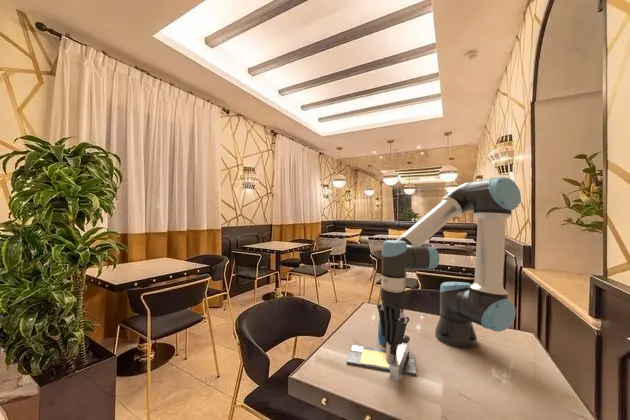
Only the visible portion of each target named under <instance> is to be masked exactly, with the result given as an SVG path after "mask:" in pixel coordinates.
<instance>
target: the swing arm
mask: <svg viewBox="0 0 630 420" xmlns="http://www.w3.org/2000/svg"><path fill="white" fill-rule="evenodd" d="M410 340H411V339H410V336H409V335H405V334H404V338H403V342H402V344H399V345H397V353H396V354H395V355H394V357H393V359H392V362H391V364H390V371H389V379H390V380H393V381H396V382H399V381H400V378H401V375H402V374H401V372H402V369H403V367H404V364H405V361H406V358H407V355H408V351H409V343H410Z"/></svg>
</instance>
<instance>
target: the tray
mask: <svg viewBox="0 0 630 420" xmlns="http://www.w3.org/2000/svg"><path fill="white" fill-rule="evenodd" d="M346 365H351V366H356V367H362V368H368V369H374V370H379V371H384V372H390V364H387V363H386V349H380V348H375V347H374V348H373V347H369V346H361V345H354V344H351V345H350V349H349V352H348V356H347V359H346ZM402 374H403V375H407V376H414V377H417V375H418V374H417V367H416V362H415V357H414V354H413V353H410V351H409V350H408V355H407V358H406V361H405V364H404V367H403V369H402V372H401V375H402Z"/></svg>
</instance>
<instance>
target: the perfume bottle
mask: <svg viewBox="0 0 630 420" xmlns="http://www.w3.org/2000/svg"><path fill="white" fill-rule="evenodd" d="M377 327H378V330H377V331H378V332H377V333H378V335H377V337H378V342H379V345H381V346H386V340H385V337H384V336H382V335H381V327H380V320H379V321H378V326H377ZM384 332H385V331H384Z"/></svg>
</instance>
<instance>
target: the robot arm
mask: <svg viewBox="0 0 630 420" xmlns="http://www.w3.org/2000/svg"><path fill="white" fill-rule="evenodd" d="M521 200H522V194H521V190H520V188H519V185H517V184H516V182H515V181H514V180H512V179H511V178H510V177H509V178H508V177H505V176H504V177H492V178H487V179H486V178H484V179H480V180H470V181H467V182H465V183H462V184H460V185H459V186H457V187H456V188H453V189H452V190H451V191H450V192H448V193H447V194H445V195H444V196H443V197H442V198H440V201H439V203H438V205H436V206H435V207H434V208H432V209H431V210H430V211H429V212H427V214H425V215H424V216H423V217H422V218H421V219H419V220H418V221H417V222H416V223H415V224H414V225H412V226H411V227H410V228H409V229H407V231H405V232H404V233H403V234H401V235H400V236H399V237H398V238H397V239H387V240H385V241H383V243H382V247H381V280H380V281H381V284H380V286H381V289H380V300H381V304H380V303H379V304H377V305H376V308H377V311H378V315H379V321H380V327H381V335H382V336H384V337H385V340H386V345H385V350H386V363H387V364H391V362H392V359H393V357H394V355H395V354H396V353H397V348H398V346H399V344H402V342H403V338H404V335H405V332H406V329H407V325H408V323H409V322H410V317H409V316H406V315H405V313H404V304H405V303H406V291H405V290H406V288H407V286H406V285H407V283H406V282H407V281H406V280H407V279H406V278H407V271H412V270H417V271H418V270H426V271H427V270H433V269H436V268H437V267H438V266H439V265H440V253H439V251H438V250H437V249H436V248H435V247H433V246H428V245H423V244H424V243H426V242H427V241H428V240H429V239H430V238H431V237H433V236H434V235H435V234H436V233H438V231H440V230H441V229H442V228H443V227H444V226H445V225H447V224H448V223H449V222H450V221H451V220H452V219H453V218H455V217H456V218H457V217H459V216H461V215H462V214H464V213H466V212H469V211H472V212H473V215H474V217H476V219H477V224H476V225H477V226H476V227H477V230H476V246H475V247H476V249H475V266H474V281H473V282H472V283H470V282H464V281H463V282H462V281H444V282H442V283H441V284H440V288H439V290H440V291H439V319H438V322H437V324H436V327H435V329H434V330H435V332H434V333H435V338H436V339H437V340H439V341H440V342H442V343H444V344H446V345H449V346H453V347H456V348H457V347H458V348H461V349H462V348H463V349H470V348H475V347H476V346H478V336H477V334H476V331H475V328H474V324H477V325H478V326H481V327H483V328H484V329H488V330H491V331H494V332H503V331H505V330H508V329H509V328H510V326H511V325H512V324H513V322H514V321H515V318H516V313H517V311H516V306H515V304H514V303H513V302H512V300H509V299H508V294H509V292H507V290H506V289H505V288H504V264H505V248H506V247H505V246H506V245H505V243H506V226H507V225H506V223H507V219H509V218H511V217H512V211H513V210H515V209H517V208H518V207H519V205H520V204H521V202H522V201H521ZM422 245H423V246H422ZM384 331H385V332H384Z"/></svg>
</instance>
